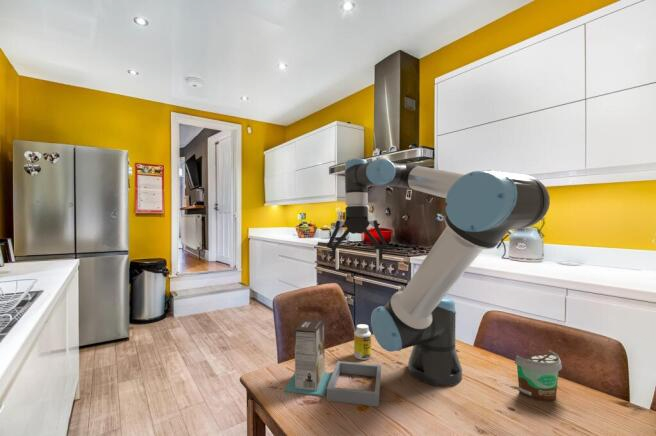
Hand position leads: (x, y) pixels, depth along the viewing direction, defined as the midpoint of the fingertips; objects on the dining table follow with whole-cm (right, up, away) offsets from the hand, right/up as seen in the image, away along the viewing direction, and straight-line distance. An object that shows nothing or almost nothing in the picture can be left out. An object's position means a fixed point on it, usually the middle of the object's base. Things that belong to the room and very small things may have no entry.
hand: (357, 269), depth 102 cm
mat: (-15, -29, -17) cm, 37 cm away
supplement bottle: (+2, -29, -1) cm, 29 cm away
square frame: (-2, -29, -19) cm, 35 cm away
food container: (+46, -29, -24) cm, 59 cm away
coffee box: (-15, -29, -17) cm, 36 cm away
